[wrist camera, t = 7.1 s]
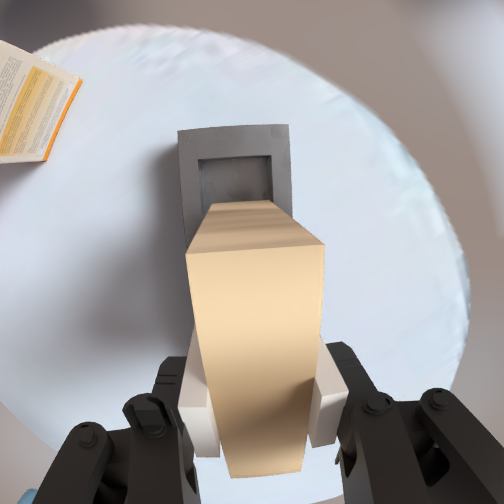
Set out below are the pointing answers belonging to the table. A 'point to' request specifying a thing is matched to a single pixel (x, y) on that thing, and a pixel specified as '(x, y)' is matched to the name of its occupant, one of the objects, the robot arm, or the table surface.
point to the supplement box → (31, 104)
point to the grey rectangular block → (233, 169)
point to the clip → (258, 331)
